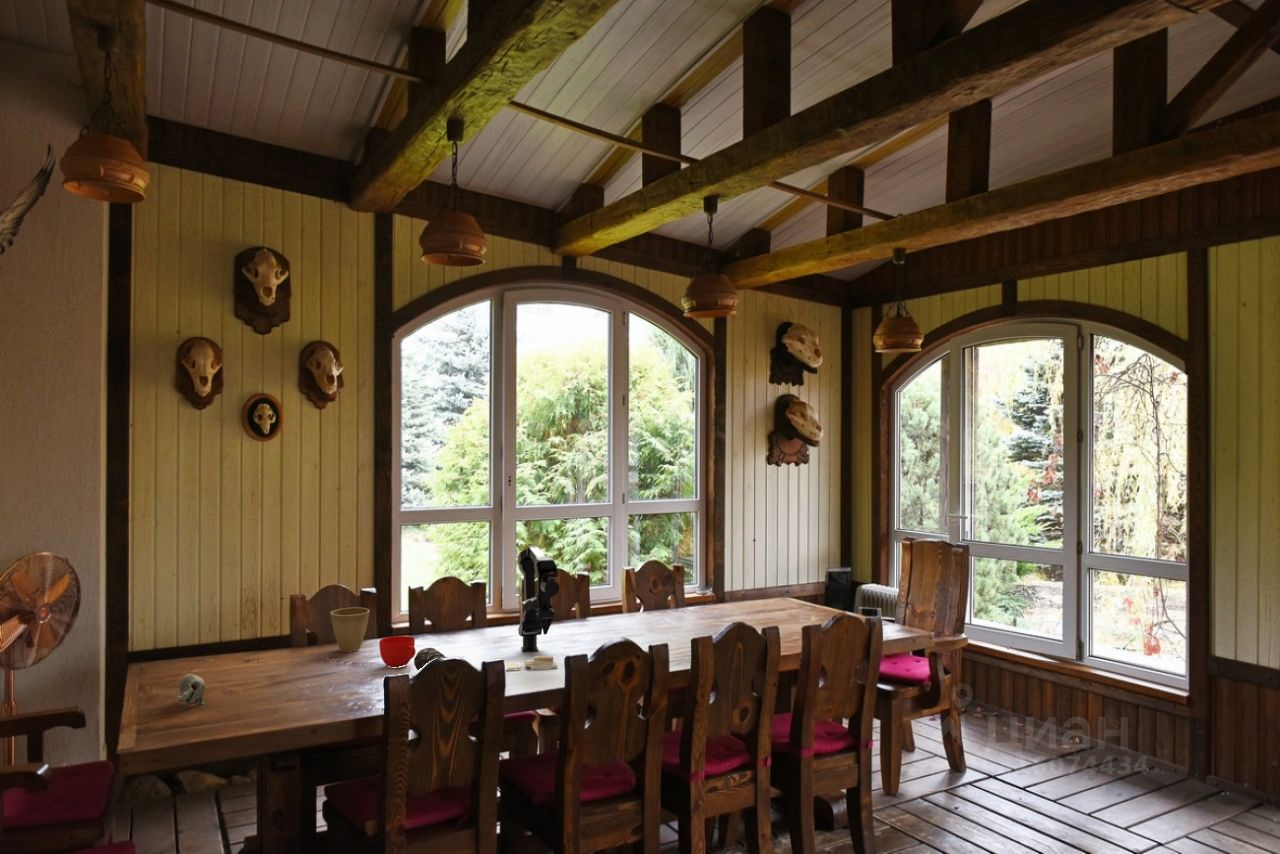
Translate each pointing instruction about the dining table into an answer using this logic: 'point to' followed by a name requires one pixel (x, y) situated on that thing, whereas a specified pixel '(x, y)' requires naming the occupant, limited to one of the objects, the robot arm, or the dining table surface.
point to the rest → (545, 666)
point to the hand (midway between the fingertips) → (544, 631)
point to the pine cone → (426, 657)
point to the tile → (512, 666)
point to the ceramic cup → (397, 650)
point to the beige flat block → (539, 661)
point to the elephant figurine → (191, 689)
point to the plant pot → (349, 627)
